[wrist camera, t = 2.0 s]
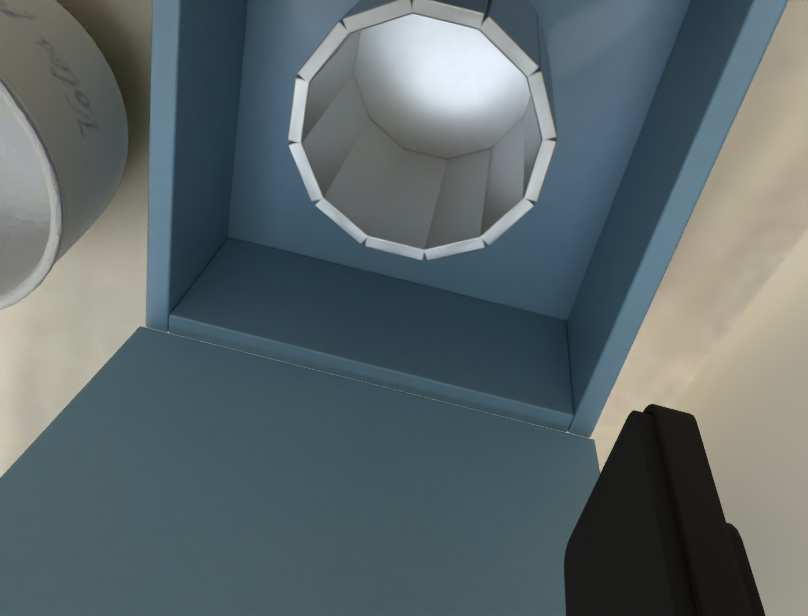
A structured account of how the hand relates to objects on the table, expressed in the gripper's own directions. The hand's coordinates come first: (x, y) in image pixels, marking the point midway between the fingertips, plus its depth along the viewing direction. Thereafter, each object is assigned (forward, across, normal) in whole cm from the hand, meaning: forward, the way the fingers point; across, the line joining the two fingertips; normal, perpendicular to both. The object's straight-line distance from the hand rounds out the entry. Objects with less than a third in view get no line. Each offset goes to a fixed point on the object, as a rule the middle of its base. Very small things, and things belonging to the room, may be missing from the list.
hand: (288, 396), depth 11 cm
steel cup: (+18, 0, 0) cm, 18 cm away
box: (+19, 0, +1) cm, 19 cm away
